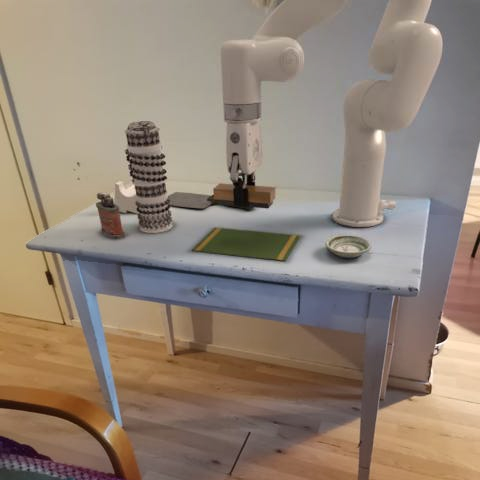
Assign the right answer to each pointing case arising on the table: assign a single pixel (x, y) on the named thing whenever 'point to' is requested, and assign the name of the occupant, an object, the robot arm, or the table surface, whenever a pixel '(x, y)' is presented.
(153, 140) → the decorative candle
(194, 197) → the cleaver
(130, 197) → the bracket
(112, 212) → the lighter
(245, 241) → the cloth
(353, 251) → the saucer
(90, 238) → the table surface
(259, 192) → the chalkboard eraser
